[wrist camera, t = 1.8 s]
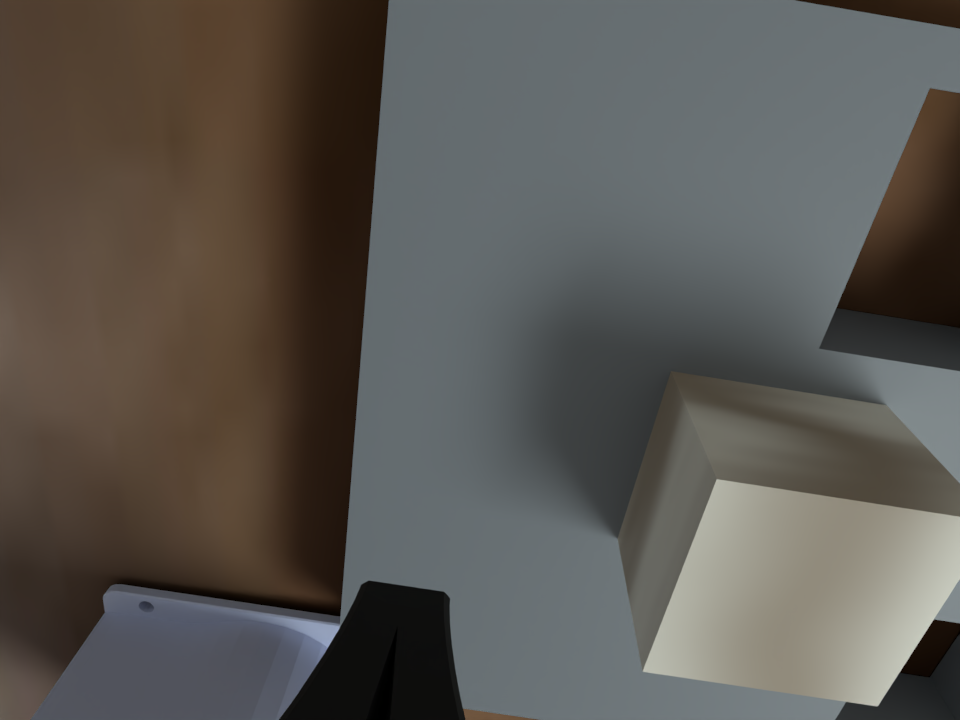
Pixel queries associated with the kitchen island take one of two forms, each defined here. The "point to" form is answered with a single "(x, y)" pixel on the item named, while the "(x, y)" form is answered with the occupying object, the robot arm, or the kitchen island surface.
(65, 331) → the kitchen island surface
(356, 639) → the robot arm
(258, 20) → the kitchen island surface
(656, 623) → the birch block
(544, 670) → the trap board
